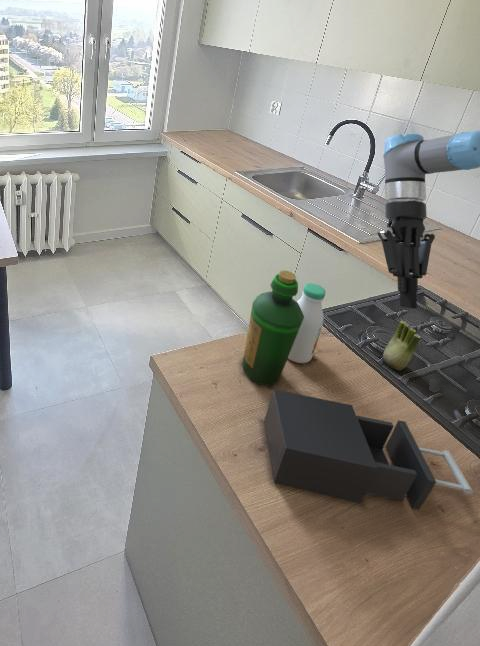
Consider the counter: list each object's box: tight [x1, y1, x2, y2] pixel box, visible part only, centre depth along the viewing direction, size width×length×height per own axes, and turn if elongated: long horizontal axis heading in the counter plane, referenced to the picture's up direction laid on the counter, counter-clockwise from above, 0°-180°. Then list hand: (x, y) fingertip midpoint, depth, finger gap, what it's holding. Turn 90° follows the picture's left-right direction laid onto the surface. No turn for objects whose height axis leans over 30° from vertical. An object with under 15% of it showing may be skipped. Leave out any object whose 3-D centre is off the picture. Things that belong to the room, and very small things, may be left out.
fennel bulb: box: [382, 320, 421, 372], centre depth 101 cm, size 6×5×12 cm
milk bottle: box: [287, 282, 326, 364], centre depth 102 cm, size 8×8×20 cm
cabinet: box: [263, 389, 377, 504], centre depth 79 cm, size 15×13×10 cm
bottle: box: [242, 270, 304, 386], centre depth 94 cm, size 11×11×28 cm
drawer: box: [356, 414, 474, 511], centre depth 76 cm, size 21×11×8 cm, turn 78°
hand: (408, 307), depth 92 cm, fingers closed
